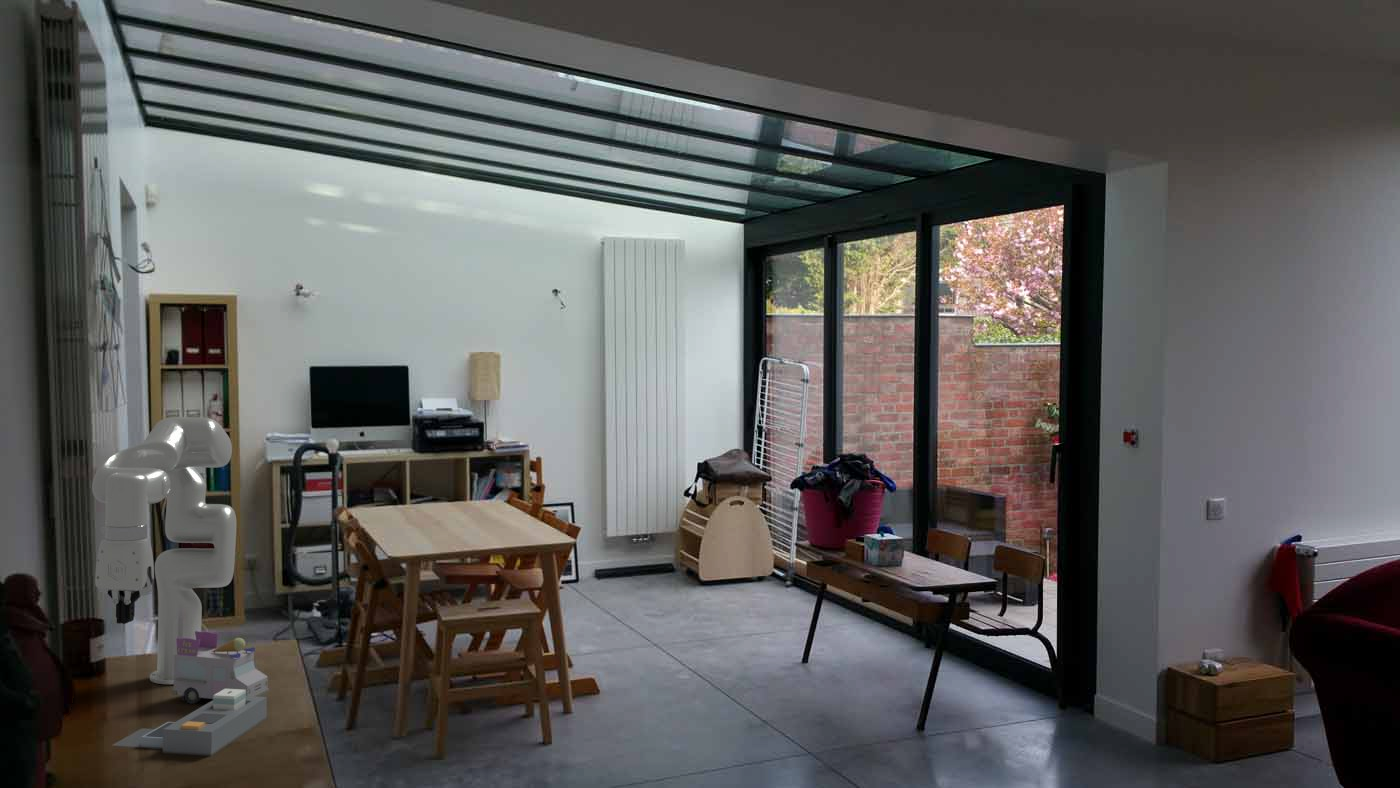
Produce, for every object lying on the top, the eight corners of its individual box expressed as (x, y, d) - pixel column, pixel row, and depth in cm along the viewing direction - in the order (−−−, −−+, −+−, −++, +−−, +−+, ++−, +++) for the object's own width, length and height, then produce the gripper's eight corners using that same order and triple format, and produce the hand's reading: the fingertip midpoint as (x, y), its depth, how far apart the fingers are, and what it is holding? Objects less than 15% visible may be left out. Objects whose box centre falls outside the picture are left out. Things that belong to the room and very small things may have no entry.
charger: (224, 720, 222) (225, 688, 222) (245, 721, 222) (245, 689, 222) (212, 728, 218) (213, 695, 218) (233, 729, 218) (234, 696, 217)
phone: (167, 730, 216) (167, 721, 216) (190, 732, 216) (190, 722, 216) (141, 746, 207) (141, 736, 207) (164, 747, 207) (165, 738, 207)
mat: (141, 729, 217) (141, 728, 217) (196, 733, 216) (196, 731, 216) (111, 746, 207) (111, 745, 207) (168, 750, 206) (168, 748, 206)
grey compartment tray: (222, 717, 226) (222, 691, 226) (266, 719, 226) (266, 694, 226) (162, 754, 204) (163, 725, 204) (211, 757, 204) (211, 728, 204)
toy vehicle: (245, 712, 230) (247, 645, 230) (169, 703, 234) (170, 637, 234) (270, 699, 239) (272, 635, 239) (196, 691, 243) (197, 628, 243)
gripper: (79, 534, 208) (78, 624, 209) (150, 538, 207) (148, 628, 208) (103, 528, 216) (102, 615, 216) (172, 532, 215) (170, 619, 215)
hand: (125, 621), depth 212 cm, fingers closed
